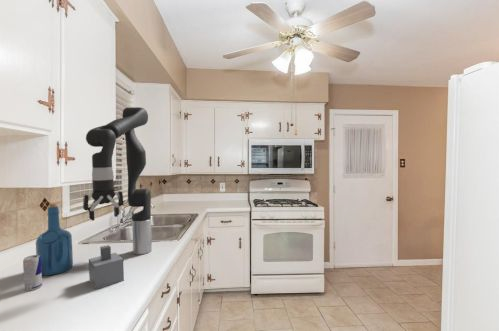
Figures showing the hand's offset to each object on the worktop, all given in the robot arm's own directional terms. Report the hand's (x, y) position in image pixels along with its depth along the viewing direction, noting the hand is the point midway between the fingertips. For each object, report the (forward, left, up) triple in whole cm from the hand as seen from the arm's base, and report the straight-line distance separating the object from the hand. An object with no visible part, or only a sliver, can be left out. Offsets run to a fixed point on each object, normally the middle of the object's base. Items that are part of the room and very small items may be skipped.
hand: (104, 218), depth 109 cm
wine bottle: (-26, -14, -26) cm, 39 cm away
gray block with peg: (+1, 0, -25) cm, 25 cm away
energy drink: (-12, -23, -26) cm, 36 cm away
